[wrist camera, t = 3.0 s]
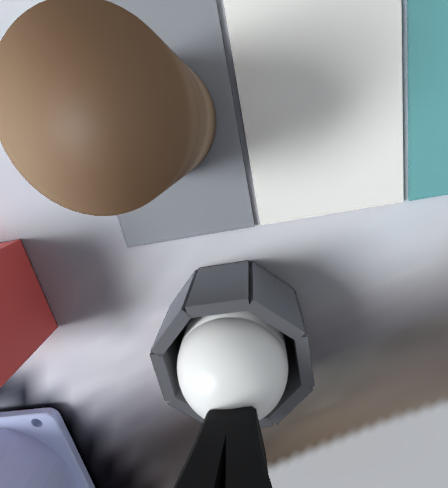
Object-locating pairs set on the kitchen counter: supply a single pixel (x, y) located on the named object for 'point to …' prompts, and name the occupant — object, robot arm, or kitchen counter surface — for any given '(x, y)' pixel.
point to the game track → (303, 110)
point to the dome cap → (232, 363)
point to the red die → (20, 310)
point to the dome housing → (230, 301)
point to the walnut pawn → (99, 107)
